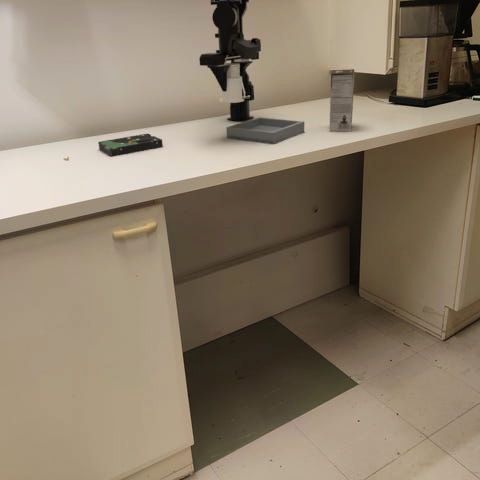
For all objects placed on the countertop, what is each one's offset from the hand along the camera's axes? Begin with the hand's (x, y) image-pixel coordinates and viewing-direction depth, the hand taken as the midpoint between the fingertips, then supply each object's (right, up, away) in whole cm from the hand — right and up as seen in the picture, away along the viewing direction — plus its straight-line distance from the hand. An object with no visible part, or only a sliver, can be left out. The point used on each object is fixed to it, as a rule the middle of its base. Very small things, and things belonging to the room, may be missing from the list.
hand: (231, 89), depth 134 cm
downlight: (0, -3, +1) cm, 3 cm away
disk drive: (-28, -17, -2) cm, 33 cm away
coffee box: (+32, -9, +8) cm, 34 cm away
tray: (+10, -11, +5) cm, 16 cm away
